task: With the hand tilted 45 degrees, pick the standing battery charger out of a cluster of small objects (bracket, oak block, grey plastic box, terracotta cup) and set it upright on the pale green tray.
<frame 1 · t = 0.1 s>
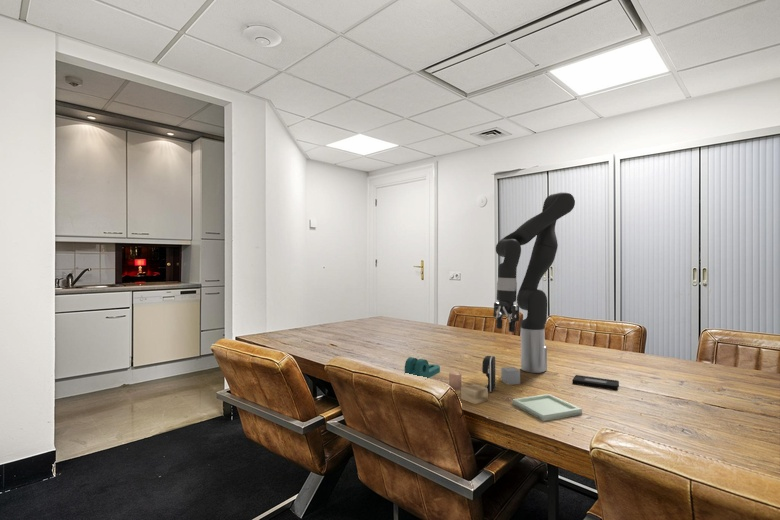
hand: (505, 330, 160), 17 cm above the table, tool pointing down, fingers open, 8 cm apart
bracket: (424, 375, 160), on the table
terracotta cup: (455, 387, 144), on the table
tray: (546, 409, 123), on the table
battery charger: (488, 389, 142), on the table
grey box: (510, 382, 150), on the table
oak block: (474, 400, 132), on the table
vhs tape: (595, 386, 146), on the table
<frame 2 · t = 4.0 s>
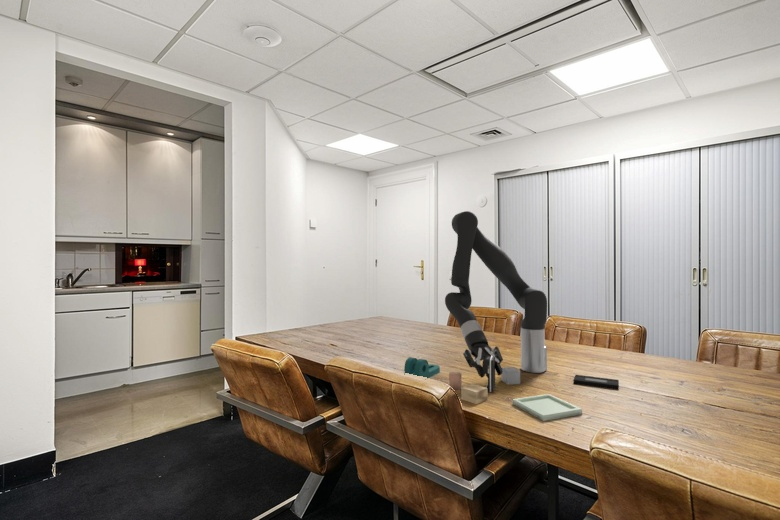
hand: (492, 375, 141), 5 cm above the table, tool tilted 45°, fingers closed on battery charger, 6 cm apart
battery charger: (488, 389, 142), on the table, touching gripper
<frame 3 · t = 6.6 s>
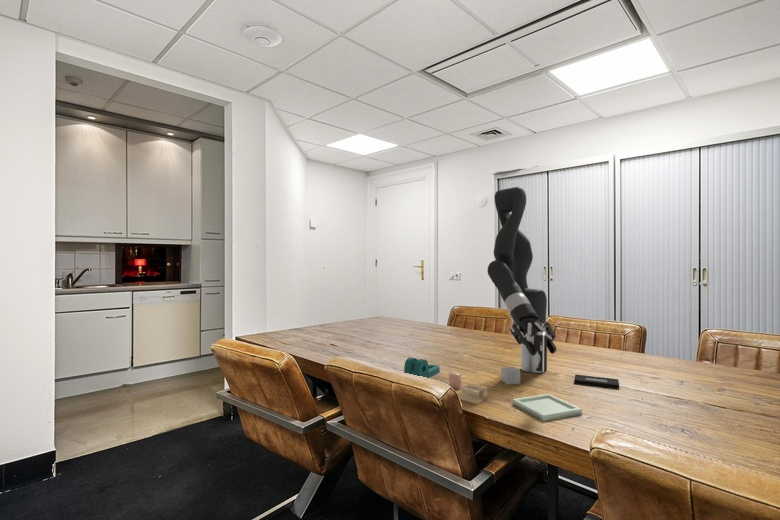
hand: (544, 353, 122), 17 cm above the table, tool tilted 45°, fingers closed on battery charger, 6 cm apart
battery charger: (540, 370, 124), point 12 cm above the table, touching gripper
when the fingers open (7 cm above the table, at t = 9.2 s): battery charger stays where it is, resting on tray.
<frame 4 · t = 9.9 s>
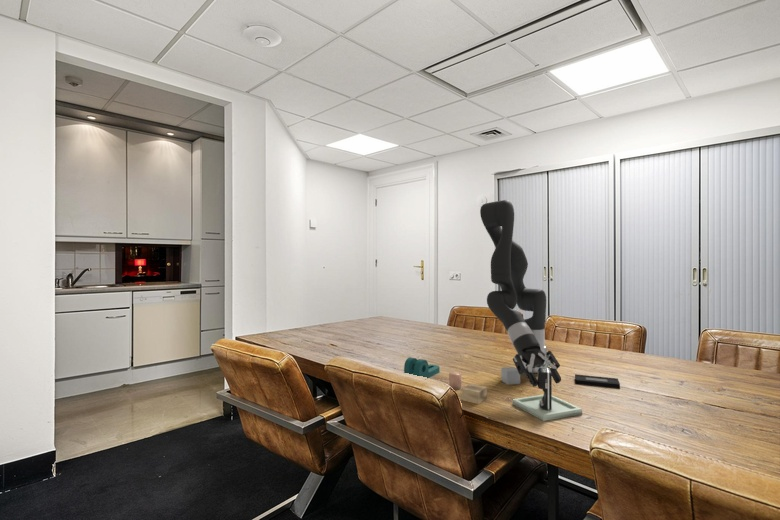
hand: (547, 383, 123), 8 cm above the table, tool tilted 45°, fingers open, 8 cm apart
battery charger: (544, 407, 123), point 1 cm above the table, touching gripper, tray
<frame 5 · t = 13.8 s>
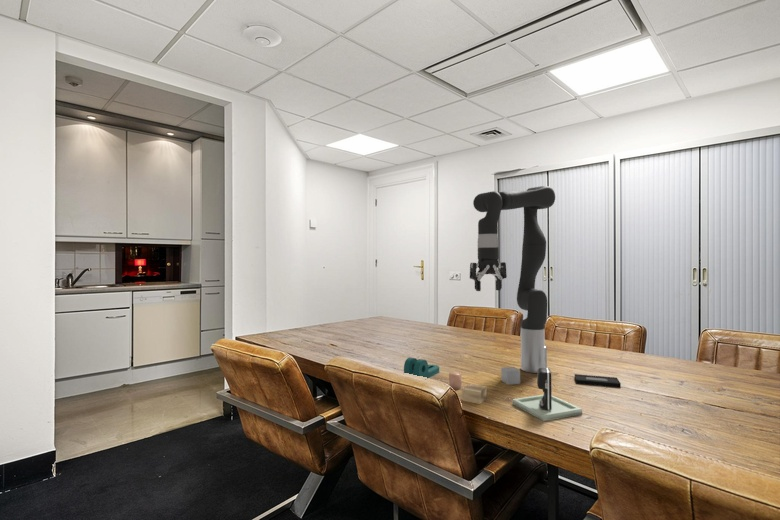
hand: (488, 290, 149), 34 cm above the table, tool pointing down, fingers open, 8 cm apart
battery charger: (544, 407, 123), point 1 cm above the table, touching tray
at the end: battery charger inside the target area on the tray (0.7 cm from its centre), point 0.6 cm above the tray's base; battery charger tilted 0°; the gripper is holding nothing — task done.
